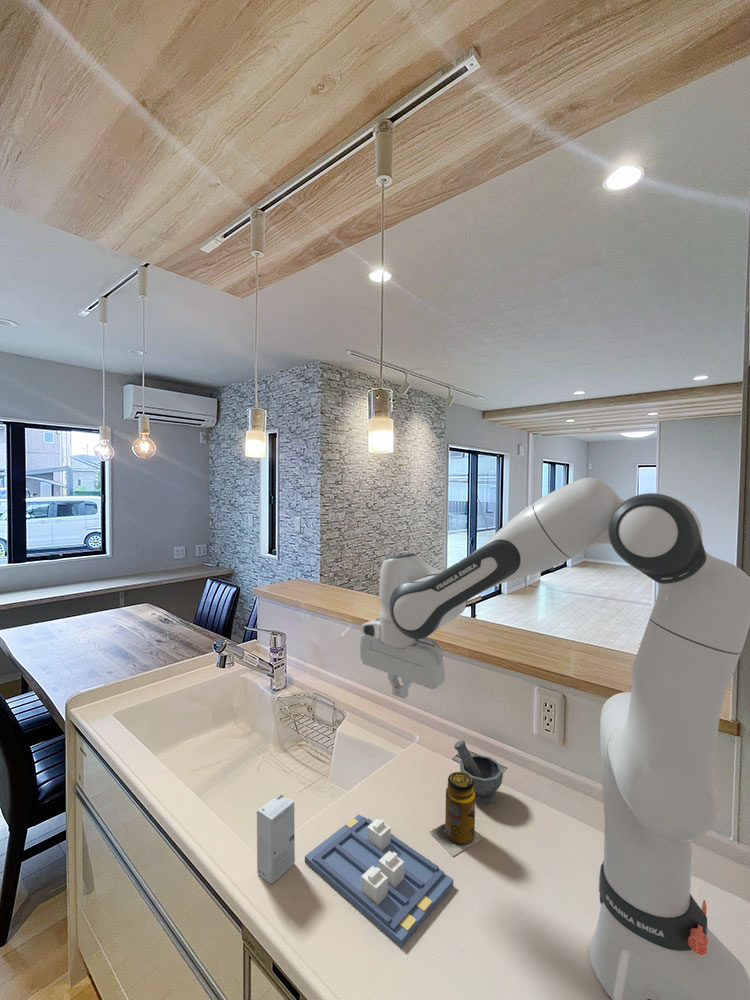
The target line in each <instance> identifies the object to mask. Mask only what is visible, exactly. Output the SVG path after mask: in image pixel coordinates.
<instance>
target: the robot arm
mask: <svg viewBox="0 0 750 1000" xmlns="http://www.w3.org/2000/svg"><path fill="white" fill-rule="evenodd" d="M699 519H700V518H699V517H698V515H697V514H696V513H695V511H694V510H693V509H692V508H691V507H690V506H689V505H688V504H686V503H685V502H683V501H681V500H679V499H678V498H675V497H673V496H670V495H666V494H662V493H651V492H650V493H641V494H637V495H635V496H634V495H633V496H631V497H630V498H627V499H626V500H624V499H623V498H621V497H620V496H619V495H618V494H617V493H616V491H615V490H613V488H612V487H611V486H609V485H608V484H607V483H606V482H604V481H602V480H600V479H599V478H598V479H597V478H594V477H584V478H579V479H577V480H575V481H573V482H571V483H567V484H566V485H563V486H561V487H560V488H557V489H555V490H553V491H551V492H549V493H548V494H546V495H544V496H542V497H541V498H539V499H537V500H536V501H534V502H533V503H531V504H530V505H528V506H526V507H525V508H524V509H523V510H521V511H520V512H519V513H517V514H516V515H514V517H513V518H510V520H509V521H507V523H505V524H504V525H503V526H502V527H501V528H500V529H499V530H498V531H496V533H494V534H493V535H492V536H491V537H489V538H488V539H487V540H486V541H485V542H484V543H483V544H482V545H480V547H478V548H477V549H476V550H474V551H473V552H472V553H471V554H469V555H467V556H465V557H464V558H462V559H461V560H460V561H458V562H456V563H454V564H452V565H451V566H449V567H448V568H446V569H445V570H441V569H438V568H436V567H434V566H432V565H430V564H429V563H427V562H426V561H424V560H423V559H422V557H421V556H420V555H419V554H418V553H414V552H406V553H400V554H394V555H390V556H387V557H386V558H385V559H384V560H383V561H382V564H381V566H380V573H379V574H380V575H379V583H378V584H379V589H378V591H379V595H378V597H379V600H380V610H379V616H378V618H376V619H372V620H370V621H367V622H365V623H363V624H361V626H360V631H361V633H362V635H361V637H360V641H359V642H360V644H359V658H360V661H361V662H362V664H363V665H365V666H367V667H370V668H373V669H376V670H378V671H382V672H384V673H387V679H388V681H389V683H390V685H391V689H392V691H391V692H392V695H394V696H397V697H398V698H402V699H406V698H408V696H409V688H410V687H411V686H412V683H413V684H416V685H418V686H422V687H423V688H424V687H425V688H427V689H429V690H435V689H437V688H439V687H441V686H442V685H443V684H444V683H445V680H446V679H445V678H446V677H445V675H446V674H445V666H444V664H445V663H444V656H443V655H444V650H443V648H442V647H441V645H440V644H439V643H438V642H437V640H435V639H432V638H427V637H428V636H430V635H432V634H433V633H434V632H435V631H436V630H437V629H440V628H441V627H443V626H445V625H446V624H448V623H449V622H451V621H453V620H455V619H456V618H458V617H459V616H460V615H461V614H463V612H464V611H465V610H466V607H467V606H468V601H469V600H470V599H473V598H474V597H477V595H479V594H481V593H484V592H485V591H487V590H488V589H490V588H494V587H496V586H498V585H502V584H504V583H508V582H511V581H513V580H518V579H520V578H521V579H522V578H524V577H527V576H530V575H534V574H537V573H538V574H539V573H542V572H543V571H547V570H549V569H552V568H554V567H557V566H559V565H562V564H563V563H565V562H568V561H569V560H571V559H572V558H575V557H577V556H578V555H580V554H581V553H583V552H585V551H587V550H590V549H592V548H594V547H597V546H599V545H611V547H612V549H613V550H614V552H615V553H616V555H618V557H620V558H621V559H622V560H623V561H624V562H626V564H628V565H630V567H633V568H635V569H636V570H638V571H639V572H640V573H642V574H644V575H645V576H647V577H648V578H650V579H651V580H653V581H654V582H655V583H657V585H658V587H657V588H658V591H657V595H656V600H655V603H654V606H653V608H652V611H651V613H650V616H649V619H648V622H647V625H646V628H645V630H644V633H643V635H642V638H641V641H640V645H639V648H638V650H637V653H636V656H635V659H634V662H633V665H632V679H631V680H632V681H631V682H632V683H631V691H628V692H627V691H626V692H620V693H619V692H618V693H616V694H614V695H612V696H610V697H609V698H608V699H606V701H605V703H603V706H602V708H601V712H600V719H599V721H600V722H599V725H600V726H599V728H600V729H599V730H600V731H599V732H600V733H599V734H600V737H599V738H600V765H601V781H602V782H601V784H602V796H603V797H602V798H603V810H604V811H603V812H604V815H603V816H604V832H603V834H604V836H603V844H604V845H603V861H602V863H601V864H600V869H599V873H598V875H599V876H598V877H599V878H598V892H599V903H600V908H599V909H600V910H599V915H598V920H597V924H596V927H595V931H594V933H593V936H592V938H591V940H590V943H589V958H590V962H591V966H592V969H593V972H594V974H595V976H596V978H597V980H598V981H599V983H600V984H601V986H602V987H603V989H604V990H605V992H606V993H607V995H608V996H610V997H611V999H612V1000H750V977H749V973H748V972H747V970H746V968H745V967H744V964H742V962H741V961H740V960H739V959H738V958H737V956H735V955H734V954H733V952H731V950H729V948H727V946H725V945H724V943H723V942H722V941H721V940H720V939H719V938H718V937H717V936H716V935H715V934H714V933H713V931H712V930H711V929H710V928H709V927H708V916H707V909H708V908H707V904H706V903H707V902H706V900H705V899H703V902H702V906H701V907H700V906H699V904H698V903H697V902H696V900H695V898H694V897H693V896H692V894H691V885H692V884H691V879H692V853H693V852H692V851H693V850H692V842H693V841H695V840H699V839H700V838H702V837H704V836H705V835H707V834H709V832H710V831H711V829H712V828H713V826H714V824H715V822H716V818H717V805H716V797H715V789H714V788H715V786H714V785H715V783H714V780H715V779H714V778H715V777H714V776H715V763H716V756H717V746H718V737H719V727H720V719H721V713H722V709H723V708H722V707H723V704H724V700H725V699H726V698H725V697H726V695H727V692H728V690H729V687H730V683H731V682H732V678H733V675H734V673H735V670H736V669H737V665H738V662H739V659H740V657H741V654H742V651H743V648H744V645H745V643H746V639H747V636H748V632H749V629H750V576H749V575H748V574H747V573H746V572H744V571H743V570H742V569H741V568H739V566H736V565H735V564H732V563H731V562H728V561H726V560H722V559H719V558H717V557H715V556H712V555H711V554H709V553H708V552H707V551H706V550H705V547H704V544H703V529H702V523H701V521H700V520H699ZM399 679H401V683H402V684H401V683H400V680H399ZM610 997H609V998H610ZM611 999H610V1000H611Z"/></svg>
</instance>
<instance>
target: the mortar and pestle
mask: <svg viewBox="0 0 750 1000" xmlns="http://www.w3.org/2000/svg"><path fill="white" fill-rule="evenodd" d="M466 745H467V744H466V742H465V740H461V739H460V740H457V741H456V742H455V744H454V745H453V746H454V749H455V751H457V753H458V756H459V757H460V760H461V761H460V762H459V770H460V771H459V772H463V773H466V774H468V775H469V776H471V778H472V779H473V788H474V792H475V804H477V805H481V806H484V805H490V804H492V803H493V801H494V800H495V793H496V792H497V791H498V790H499V789H500V787H501V786H502V784H503V777H504V776H503V775H504V774H503V773H504V771H503V767H502V766H501V763H500V762H498V761H497V760H496V759H494V758H492V757H491V756H487V755H482V754H471V752H470V751H469V749H468V748H467V746H466Z"/></svg>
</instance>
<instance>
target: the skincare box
mask: <svg viewBox="0 0 750 1000" xmlns="http://www.w3.org/2000/svg"><path fill="white" fill-rule="evenodd" d="M295 835H296V834H295V802H294V801H293V800H291V799H290V798H288V797H286V796H284V795H282V794H278V795H277V796H276V797H274V798H273V799H270V800H269V801H267V802H266V803H265V804H264V805H263V806H262V807H260V808H258V809H257V810H256V867H257V868H256V870H257V871H256V873H257V874H258V875H259V876H260V877H261V878H262V879H264V880H265V881H266V882H268V883H269V884H270V885H272V884H274V883H275V882H276V881H277V880H279V878H281V877H282V876H283V875H284V874H285V873H286V872H287V871H288V870H290V869H291V868H292V867H293V865H294V864H295V862H296V861H295V860H296V858H295V857H296V856H295V847H296V846H295V845H296V844H295V839H296V838H295Z"/></svg>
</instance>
